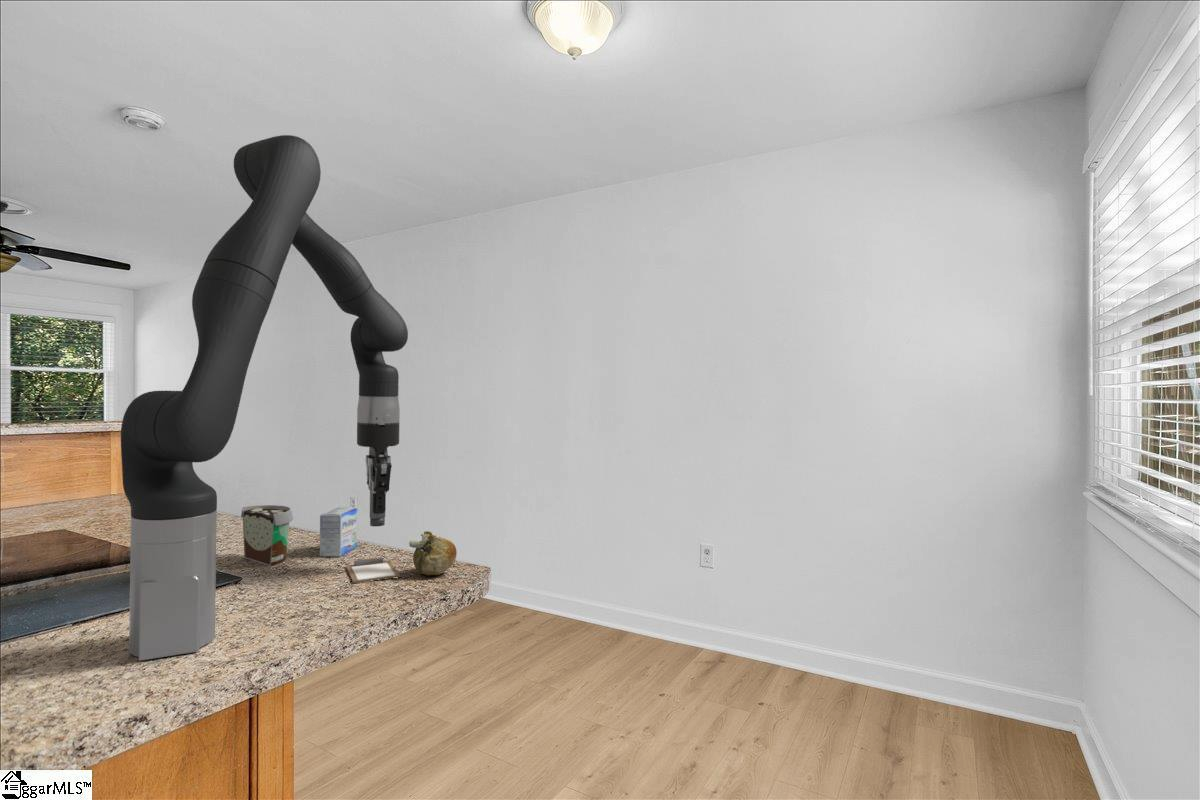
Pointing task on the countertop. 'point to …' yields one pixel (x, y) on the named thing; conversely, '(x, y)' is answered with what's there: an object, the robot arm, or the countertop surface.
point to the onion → (433, 554)
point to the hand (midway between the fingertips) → (377, 511)
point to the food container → (266, 533)
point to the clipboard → (371, 570)
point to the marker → (375, 518)
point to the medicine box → (338, 532)
